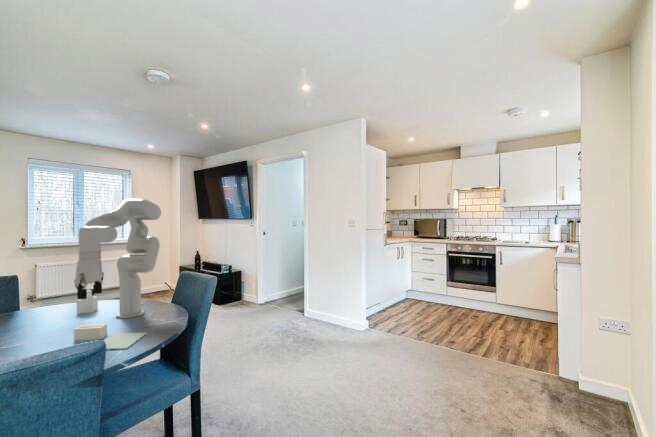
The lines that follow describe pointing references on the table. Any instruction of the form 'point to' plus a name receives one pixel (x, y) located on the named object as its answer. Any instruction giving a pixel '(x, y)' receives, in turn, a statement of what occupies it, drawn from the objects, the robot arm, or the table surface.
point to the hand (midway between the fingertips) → (90, 296)
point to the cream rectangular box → (90, 332)
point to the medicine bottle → (87, 303)
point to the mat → (122, 340)
